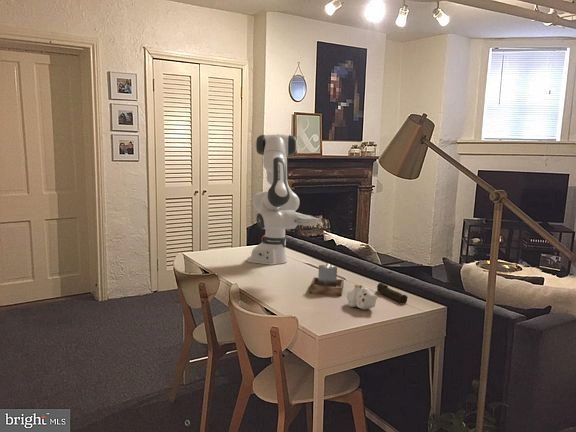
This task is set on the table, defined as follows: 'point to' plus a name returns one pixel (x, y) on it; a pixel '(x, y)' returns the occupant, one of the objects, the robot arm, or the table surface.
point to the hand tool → (391, 293)
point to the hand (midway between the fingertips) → (315, 218)
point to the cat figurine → (361, 298)
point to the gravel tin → (327, 275)
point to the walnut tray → (327, 288)
